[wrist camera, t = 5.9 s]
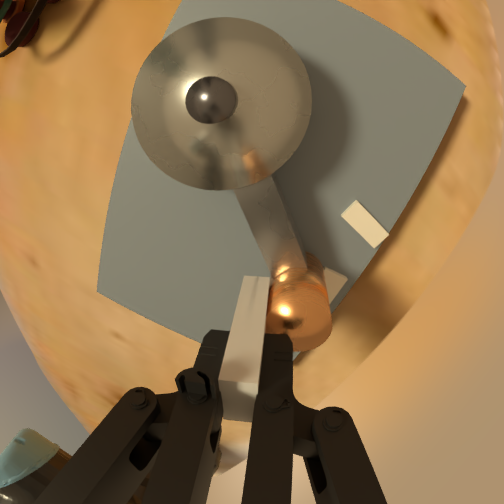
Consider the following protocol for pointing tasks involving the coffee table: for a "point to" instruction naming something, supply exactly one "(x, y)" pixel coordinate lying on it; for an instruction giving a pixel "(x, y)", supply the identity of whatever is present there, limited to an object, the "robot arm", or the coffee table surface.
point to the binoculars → (20, 22)
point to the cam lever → (238, 146)
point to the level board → (284, 171)
